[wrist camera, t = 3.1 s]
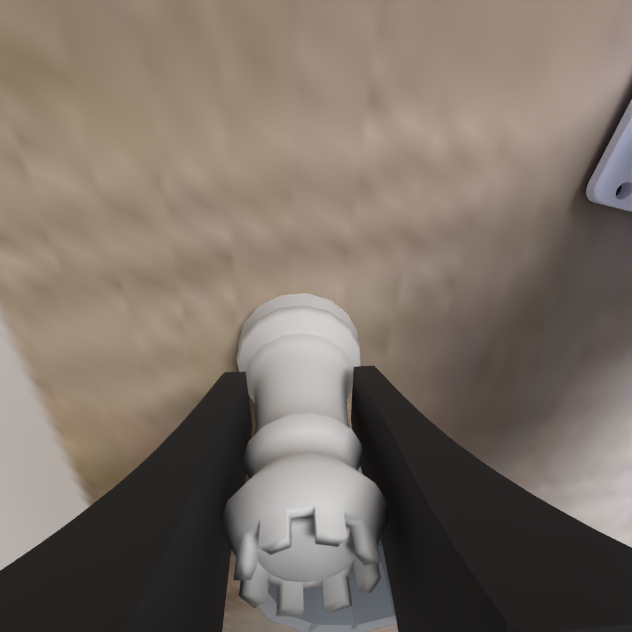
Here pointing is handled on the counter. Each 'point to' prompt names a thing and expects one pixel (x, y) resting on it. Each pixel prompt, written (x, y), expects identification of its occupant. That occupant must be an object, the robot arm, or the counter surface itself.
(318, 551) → the rook chess piece
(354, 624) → the grey faceted bowl
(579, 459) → the counter surface
